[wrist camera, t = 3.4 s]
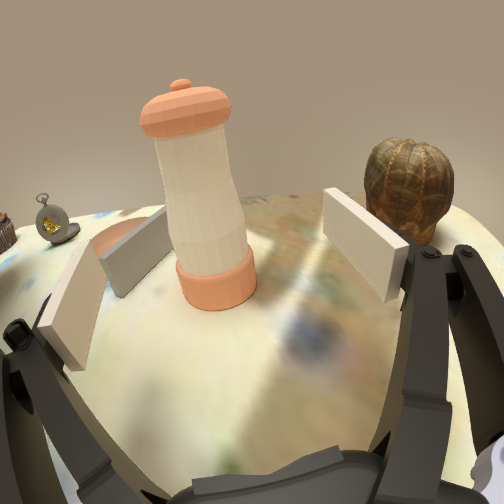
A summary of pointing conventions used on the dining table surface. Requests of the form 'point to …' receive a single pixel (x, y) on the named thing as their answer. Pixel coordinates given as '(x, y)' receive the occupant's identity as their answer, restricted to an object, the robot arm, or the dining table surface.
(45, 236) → the pocket watch
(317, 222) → the dining table surface
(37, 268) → the dining table surface
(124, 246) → the low wall
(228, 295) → the pepper shaker
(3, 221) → the cupcake
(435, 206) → the shell
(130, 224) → the coaster
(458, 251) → the robot arm
